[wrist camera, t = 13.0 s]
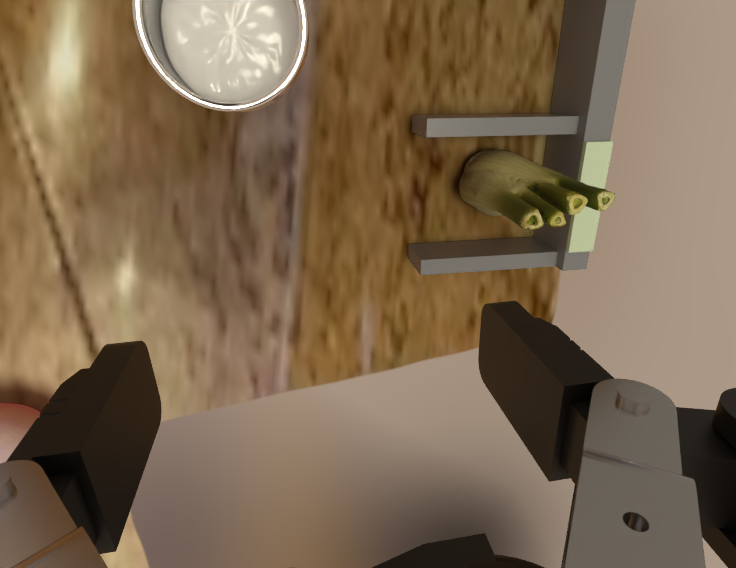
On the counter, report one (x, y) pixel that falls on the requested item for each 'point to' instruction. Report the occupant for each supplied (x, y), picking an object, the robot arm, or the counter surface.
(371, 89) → the counter surface
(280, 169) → the counter surface
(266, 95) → the beer glass
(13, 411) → the decorative fruit
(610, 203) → the fennel bulb
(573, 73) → the comb rack
